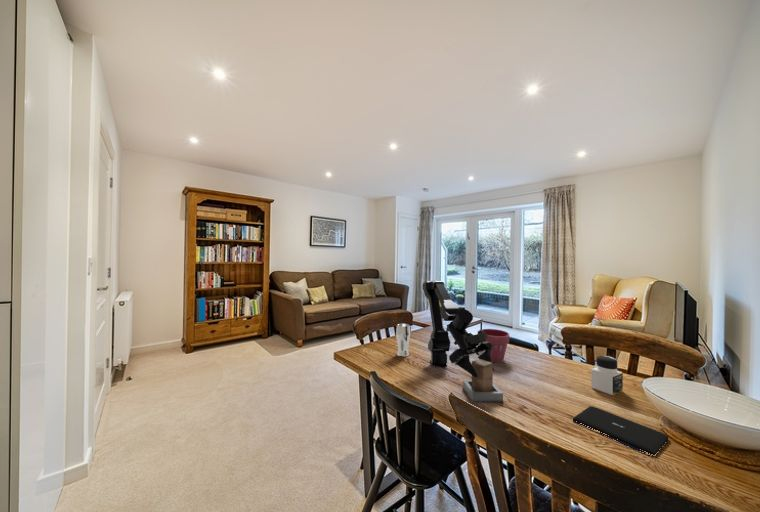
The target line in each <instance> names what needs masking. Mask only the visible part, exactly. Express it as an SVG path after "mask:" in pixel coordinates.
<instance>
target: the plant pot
mask: <svg viewBox="0 0 760 512" xmlns="http://www.w3.org/2000/svg"><path fill="white" fill-rule="evenodd" d="M482 330H484V332H485V333H486V334H487V339H486V340H487V341H486V342H490V343H491V345H492V346H493V347H492V350H491V351H490V358H491V361H493V363H500V362H501V363H502V362H503V361H504V360H505V356H506V351H507V347H508V344H509V343H510V333H509V332H508V331H505V330H502V329H496V328H495V329H494V328H482V329H480V330H478V331H482ZM482 343H483V342H482ZM480 344H481V343H479V345H480Z"/></svg>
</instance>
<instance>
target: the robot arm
mask: <svg viewBox="0 0 760 512" xmlns="http://www.w3.org/2000/svg"><path fill="white" fill-rule="evenodd" d="M422 290H423V294H424V296H425V297H426V299H427V300H428V305H429V311H430V318H431V325H432V331H431V333H430V336H429V337H430V339H429V341H428V343H427V350H429V351H430V360H429V361H430V364H431V365H432V367H447V366H448V360H449V361H450V363H451V364H452V365H453V364H454V365H455V366H458V367H459V368H460V369H463V370H464V371H465V372H467V373H468V374H470V375H471V377H472V376H474V377H475V378H476V377H477V373H476V371H475V370H474V368H473V366H472V361H470V356H471V355H474V354H476V356H477V358H478V359H483V360H485V361H488V362H491V363H492V361H491V358H490V351H491V350H492V347H493V346H492V345H491V343H490V342H486V341H487V340H486V339H487V334H486V333H485V332H484V330H482V329H481V330H482V331H479V330H477V334H473V333H471V332H468V331H467V328H468V327H469V326H470V324H471V323H472V322H473V319H474V316H473V313H471V311H469V310H468V309H466V308H465V307H464V306H459V304H457V303H456V302H454V301H452V298H451V297H450V294H449V291H447V288H446V286H445V283H444V281H443V280H425V281H424V282H423V283H422ZM440 305H441V307H440ZM443 321H445V322H449V323H448V324H446V328H444V324H443ZM445 329H446V330H445ZM449 333H450V335H451V336H452V338H453V339H454V342H453V344H454V345H455V346H456V345H457V346H458V348H456V349H454V350H453V352H452V353H451V354H449V356H448V354H447V352H450V348H451V339H450V337H449ZM482 342H483V343H482ZM480 343H481V344H480ZM448 357H449V359H448ZM494 371H495V369H494V367H493V372H494Z"/></svg>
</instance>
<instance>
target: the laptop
mask: <svg viewBox="0 0 760 512" xmlns="http://www.w3.org/2000/svg"><path fill="white" fill-rule="evenodd" d="M572 420H573V421H572V423H573V422H575V423H577V424H580V423H582V424H580V425H583V424H584V425H583V426H585V425H586V426H585V427H587V426H589V427H588V428H590V427H591V428H590V429H592V428H593V430H594V429H595V430H598V431H600V433H601V432H602V433H601V434H603V433H605V434H607V435H605V434H603V435H605V436H607V437H609V438H611V439H614V440H616V441H618V442H620V443H622V444H624V445H623V446H625V445H626V446H625V447H627V446H629V447H631V448H633V449H632V450H634V449H636V450H638V451H641V452H644V451H646V452H648V454H649V453H650V455H651V454H653V455H655V454H656V453H657V452H658V451H659V449H660V448H661V447H662V446H663V445H664V444H665V442H667V441H668V442H669V440H668V439H669V436H668V435H667V434H665V433H663V432H661V431H659V430H656V429H653V428H650V427H648V426H646V425H644V424H641V423H638V422H636V421H633V420H631V419H630V420H629V419H628V418H624V417H622V416H619V415H617V414H615V413H612V412H608V411H606V410H604V409H602V408H599V407H595V406H591V405H590V406H588V407H587V408H586V409H584V410H583V411H581V412H579V413H578V414H577V415H575V416H574V417H573V418H572ZM576 421H577V422H576ZM575 423H574V424H575ZM577 424H576V425H577ZM580 425H579V426H580ZM608 435H609V436H608ZM607 437H606V438H607ZM609 438H608V439H609ZM611 439H610V440H611ZM617 439H618V440H617ZM616 441H615V442H616ZM618 442H617V443H618ZM668 442H667V443H668ZM620 443H619V444H620ZM622 444H621V445H622ZM665 445H666V444H665ZM665 445H664V446H665ZM629 447H628V448H629ZM631 448H630V449H631ZM640 449H641V450H640ZM636 450H635V451H636ZM642 450H643V451H642ZM638 451H637V452H638ZM646 452H644V453H646Z"/></svg>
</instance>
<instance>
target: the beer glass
mask: <svg viewBox="0 0 760 512" xmlns="http://www.w3.org/2000/svg"><path fill="white" fill-rule="evenodd" d="M395 334H396V335H395V336H396V337H395V338H396V342H397V343H396V344H397V354H396V355H397V356H398V357H400V356H402V357H401V358H405V356H407V357H409V356H410V350H409V345H410V340H411V327H410V324H408V323H398V324H396V332H395Z"/></svg>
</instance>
